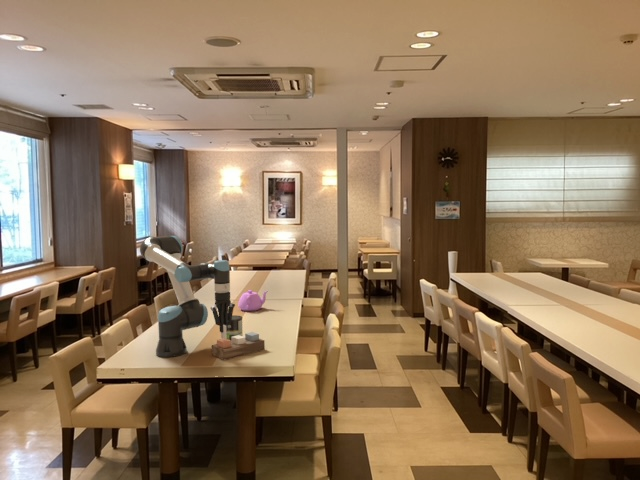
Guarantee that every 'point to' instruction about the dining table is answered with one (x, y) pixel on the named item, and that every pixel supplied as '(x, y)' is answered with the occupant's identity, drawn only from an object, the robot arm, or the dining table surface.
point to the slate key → (252, 336)
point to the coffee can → (235, 327)
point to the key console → (238, 349)
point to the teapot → (251, 301)
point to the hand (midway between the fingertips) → (223, 338)
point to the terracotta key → (224, 343)
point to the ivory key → (238, 339)
